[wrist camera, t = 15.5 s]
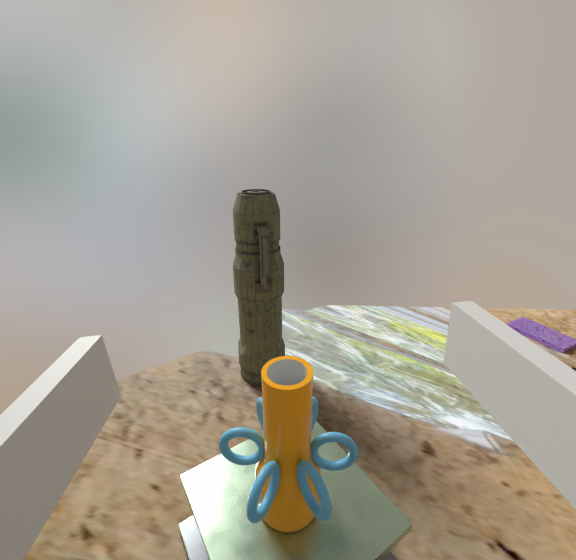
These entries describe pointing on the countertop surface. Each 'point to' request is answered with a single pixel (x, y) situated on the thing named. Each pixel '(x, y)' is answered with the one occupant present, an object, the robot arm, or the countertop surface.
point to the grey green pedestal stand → (288, 545)
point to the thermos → (258, 280)
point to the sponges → (543, 334)
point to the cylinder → (288, 450)
